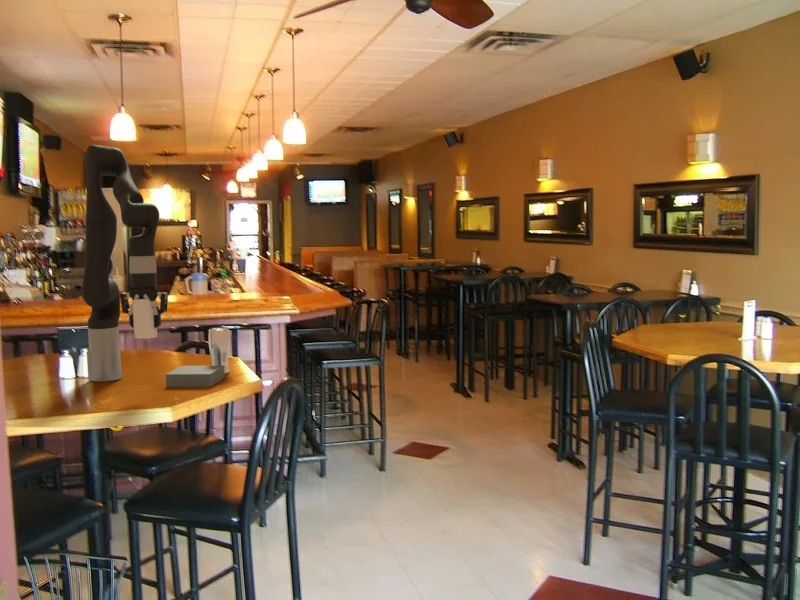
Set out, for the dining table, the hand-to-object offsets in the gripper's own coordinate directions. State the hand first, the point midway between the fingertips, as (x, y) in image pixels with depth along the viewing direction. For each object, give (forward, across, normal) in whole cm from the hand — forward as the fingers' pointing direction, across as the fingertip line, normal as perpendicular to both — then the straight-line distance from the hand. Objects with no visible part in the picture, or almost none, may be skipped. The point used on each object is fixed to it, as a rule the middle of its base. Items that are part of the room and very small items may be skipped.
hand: (145, 327), depth 211 cm
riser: (+19, +10, +14) cm, 26 cm away
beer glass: (+20, +13, +28) cm, 37 cm away
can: (+3, 0, 0) cm, 3 cm away
